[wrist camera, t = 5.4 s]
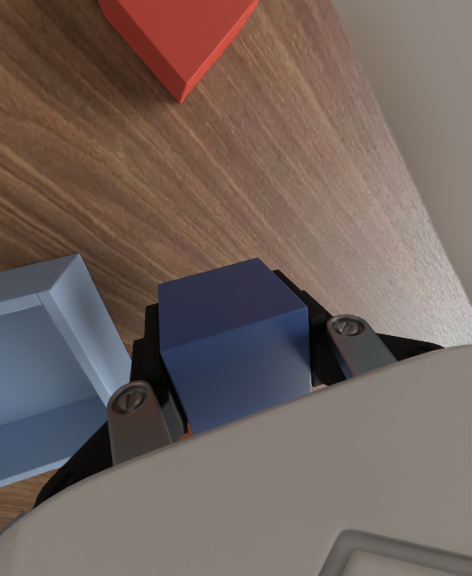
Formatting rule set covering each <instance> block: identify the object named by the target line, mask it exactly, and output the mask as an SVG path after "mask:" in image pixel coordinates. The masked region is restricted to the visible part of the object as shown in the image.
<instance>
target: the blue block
mask: <svg viewBox="0 0 472 576" xmlns="http://www.w3.org/2000/svg"><path fill="white" fill-rule="evenodd" d="M158 300H159V330H160V354H161V356H162V359H163V361H164V364H165V366H166V369H167V371H168V373H169V376H170V378H171V381H172V383H173V386H174V388H175V391H176V393H177V396H178V398H179V400H180V403H181V405H182V408H183V410H184V413H185V415H186V418H187V420H188V423H189V425H190V427H191V430H192V432H193V435H196V434H199V433H202V432H205V431H207V430H210V429H213V428H215V427H218V426H221V425H223V424H226V423H229V422H232V421H234V420H237V419H240V418H242V417H245V416H248V415H251V414H253V413H256V412H259V411H262V410H264V409H267V408H270V407H272V406H275V405H278V404H281V403H283V402H286V401H289V400H292V399H294V398H297V397H300V396H303V395H305V394H308V393H311V392H312V388H311V366H310V345H309V323H308V307H307V306H306V305H305V304H304V303H303V302H302V301H301V300H300V299H299V298H298V297H297V296H296V295H295V294H294V293H293V292H292V291H291V290H290V289H289V288H288V287H287V286H286V285H285V284H284V283H283V282H282V281H281V280H280V279H279V278H278V277H277V276H276V275H275V274H274V273H273V272H272V271H271V270H270V269H269V268H268V267H267V266H266V265H265V264H264V263H263V262H262V261H261V260H260V259H259V258H254V259H251V260H247V261H243V262H239V263H236V264H232V265H228V266H225V267H221V268H217V269H214V270H210V271H206V272H203V273H199V274H195V275H191V276H188V277H184V278H180V279H177V280H173V281H169V282H166V283H162V284H159V285H158Z"/></svg>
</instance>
